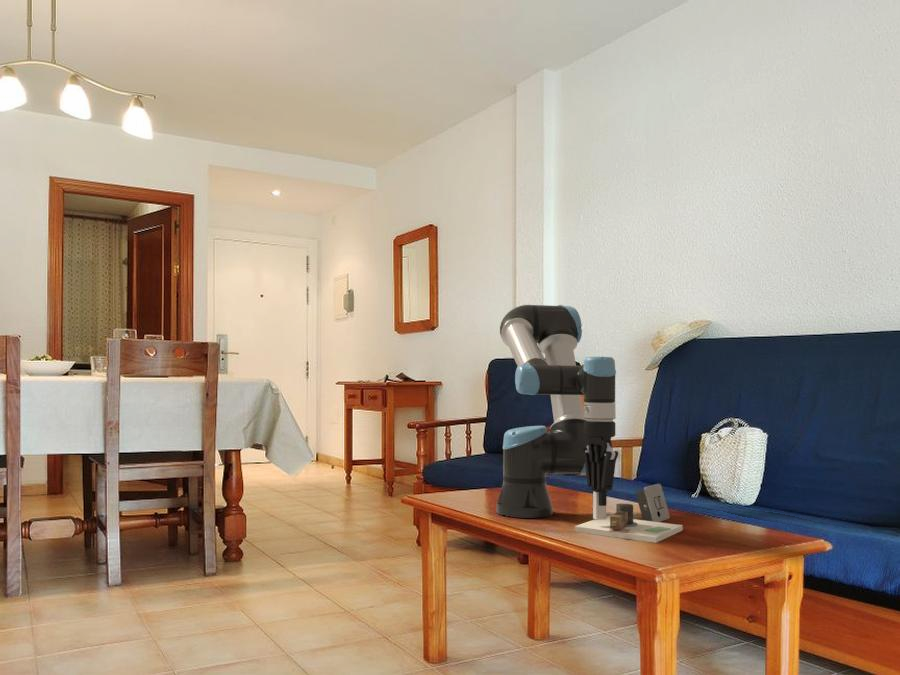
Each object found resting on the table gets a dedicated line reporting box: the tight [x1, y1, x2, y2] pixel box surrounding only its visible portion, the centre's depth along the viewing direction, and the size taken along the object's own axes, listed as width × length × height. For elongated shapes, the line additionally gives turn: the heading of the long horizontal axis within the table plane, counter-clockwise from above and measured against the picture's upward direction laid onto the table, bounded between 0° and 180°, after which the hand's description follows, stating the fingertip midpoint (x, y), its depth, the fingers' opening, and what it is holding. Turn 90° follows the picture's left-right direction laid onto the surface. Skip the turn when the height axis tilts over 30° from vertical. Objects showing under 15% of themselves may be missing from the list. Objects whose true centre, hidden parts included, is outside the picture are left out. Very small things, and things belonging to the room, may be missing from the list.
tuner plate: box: [574, 515, 684, 544], centre depth 178 cm, size 20×18×2 cm
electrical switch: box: [635, 483, 671, 523], centre depth 193 cm, size 9×5×9 cm, turn 141°
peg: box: [609, 502, 634, 530], centre depth 176 cm, size 14×4×4 cm, turn 154°
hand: (599, 518), depth 178 cm, fingers closed
